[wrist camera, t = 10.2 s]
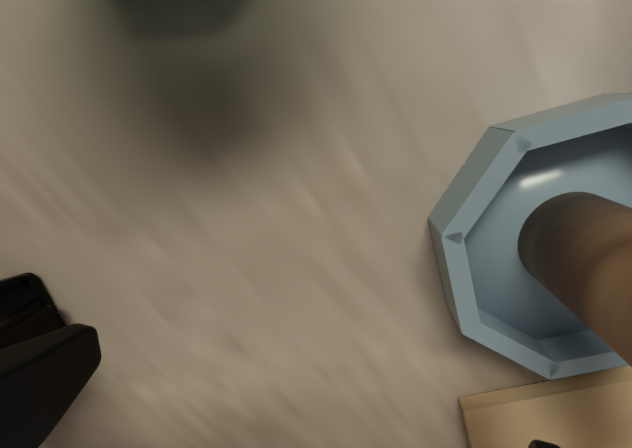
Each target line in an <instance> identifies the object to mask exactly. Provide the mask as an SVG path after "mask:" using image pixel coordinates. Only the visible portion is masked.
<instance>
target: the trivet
mask: <svg viewBox="0 0 632 448" xmlns="http://www.w3.org/2000/svg"><path fill="white" fill-rule="evenodd" d="M458 399H459V403H460V408H461V412H462V417H463V421H464V425H465V430H466V434H467V438H468V443H469V447H470V448H528V446H529V444H530V442H531V441H532V440H535V439H537V440H541V441H545V442H549V443H553V444H556V445H558V446H559V447H561V448H632V367H631V366H630V365H629V366H623V367H618V368H613V369H608V370H602V371H597V372H592V373H587V374H581V375H576V376H571V377H566V378H560V379H555V380H550V381H545V382H539V383H534V384H529V385H524V386H518V387H513V388H508V389H503V390H497V391H492V392H487V393H482V394H476V395H471V396H466V397H461V398H458Z"/></svg>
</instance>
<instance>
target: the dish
mask: <svg viewBox="0 0 632 448" xmlns="http://www.w3.org/2000/svg"><path fill="white" fill-rule="evenodd" d="M568 192H588V193H592V194H596V195H598V196H601V197H604V198H606V199H609V200H612V201H614V202H617V203H620V204H622V205H625V206H628V207H630V208H632V93H615V94H602V95H599V96H595V97H592V98H588V99H585V100H581V101H578V102H574V103H571V104H567V105H564V106H560V107H556V108H553V109H549V110H546V111H542V112H539V113H535V114H532V115H528V116H525V117H521V118H518V119H514V120H511V121H507V122H504V123H500V124H496V125H493V126H490V127H489V128H488V129H487V131H486V132H485V134H484V135H483V137H482V138H481V140H480V141H479V143H478V144H477V146H476V147H475V149H474V150H473V152H472V153H471V155H470V156H469V158H468V159H467V161H466V162H465V164H464V165H463V166H462V168H461V169H460V171H459V172H458V174H457V175H456V177H455V178H454V180H453V181H452V183H451V184H450V186H449V187H448V189H447V190H446V192H445V193H444V195H443V196H442V198H441V199H440V201H439V202H438V204H437V205H436V207H435V208H434V210H433V211H432V213H431V214H430V215H429V217H428V218H429V219H428V222H429V226H430V231H431V235H432V240H433V244H434V249H435V253H436V258H437V262H438V267H439V271H440V276H441V281H442V285H443V290H444V294H445V299H446V303H447V306H448V308H449V310H450V312H451V314H452V316H453V317H454V319H455V321H456V323H457V325H458V327H459V329H460V331H461V333H462V334H463V335H465V336H467V337H469V338H471V339H473V340H475V341H476V342H478V343H480V344H482V345H484V346H486V347H488V348H490V349H492V350H494V351H496V352H497V353H499V354H501V355H503V356H505V357H507V358H509V359H511V360H513V361H515V362H517V363H518V364H520V365H522V366H524V367H526V368H528V369H530V370H532V371H534V372H536V373H537V374H539V375H541V376H543V377H545V378H547V379H550V380H553V379H558V378H563V377H568V376H574V375H579V374H584V373H589V372H595V371H600V370H605V369H610V368H616V367H621V366H626V365H629V364H627V363H626V362H625V361H624V360H623V359H622V358H621V357H620V356H619V355H618V354H617V353H616V352H614V351H613V350H612V349H611V348H610V347H609V346H608V345H607V344H606V343H605V342H604V341H603V340H601V339H600V338H599V337H598V336H597V335H596V334H595V333H594V332H593V331H592V330H591V329H590V328H588V327H587V326H586V325H585V324H584V323H583V322H582V321H581V320H580V319H579V318H578V317H577V316H575V315H574V314H573V313H572V312H571V311H570V310H569V309H568V308H567V307H566V306H565V305H564V304H562V303H561V302H560V301H559V300H558V299H557V298H556V297H555V296H554V295H553V294H552V293H551V292H549V291H548V290H547V289H546V288H545V287H544V286H543V285H542V284H541V283H540V282H539V281H538V280H536V279H535V278H534V277H533V276H532V275H531V274H530V273H529V272H528V271H527V270H526V269H525V267H524V266H523V264H522V262H521V260H520V258H519V254H518V237H519V233H520V230H521V228H522V226H523V224H524V222H525V220H526V219H527V217H528V216H529V215H530V214H531V213H532V212H533V211H534V210H535V209H536V208H537V207H538V206H539V205H540V204H542V203H543V202H545V201H546V200H548V199H550V198H552V197H554V196H557V195H560V194H564V193H568Z"/></svg>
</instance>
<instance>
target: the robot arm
mask: <svg viewBox="0 0 632 448" xmlns="http://www.w3.org/2000/svg"><path fill="white" fill-rule="evenodd" d="M26 281H28V282H29V284H30V285H29V284H28V283H27V282H26ZM100 361H101V350H100V345H99V339H98V334H97V331H96V329H95V328H94V327H92V326H88V325H84V324H78V323H77V324H73V325H70V326H67V327H65V326H64V324H63V322H62V321H61V319H60V317H59V315H58V313H57V311H56V310H55V308H54V306H53V304H52V302H51V301H50V299H49V297H48V295H47V293H46V291H45V290H44V288H43V286H42V284H41V282H40V281H39V279H38V277H37V276H36V275H34V274H33V273H24V274H20V275H16V276H13V277H9V278H6V279H2V280H0V448H38V447H39V446H40V445H41V444H42V443H43V442H44V440H45V439H46V438H47V437H48V435H49V434H50V433H51V432H52V430H53V429H54V428H55V426H56V425H57V424H58V422H59V421H60V420H61V418H62V417H63V415H64V414H65V413H66V411H67V410H68V408H69V407H70V406H71V404H72V403H73V401H74V400H75V399H76V397H77V396H78V394H79V393H80V391H81V390H82V389H83V387H84V386H85V384H86V383H87V382H88V380H89V379H90V377H91V376H92V375H93V373H94V372H95V370H96V369H97V367H98V366H99V364H100ZM528 448H561V447H559V446H558V445H556V444H553V443H549V442H545V441H541V440H537V439H535V440H532V441H531V442H530V444H529V446H528Z"/></svg>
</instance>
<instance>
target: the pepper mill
mask: <svg viewBox="0 0 632 448" xmlns="http://www.w3.org/2000/svg"><path fill="white" fill-rule="evenodd" d="M518 254H519V258H520V260H521V262H522V264H523V266H524V267H525V269H526V270H527V271H528V272H529V273H530V274H531V275H532V276H533V277H534V278H535V279H536V280H538V281H539V282H540V283H541V284H542V285H543V286H544V287H545V288H546V289H547V290H548V291H549V292H551V293H552V294H553V295H554V296H555V297H556V298H557V299H558V300H559V301H560V302H561V303H562V304H564V305H565V306H566V307H567V308H568V309H569V310H570V311H571V312H572V313H573V314H574V315H575V316H577V317H578V318H579V319H580V320H581V321H582V322H583V323H584V324H585V325H586V326H587V327H588V328H590V329H591V330H592V331H593V332H594V333H595V334H596V335H597V336H598V337H599V338H600V339H601V340H603V341H604V342H605V343H606V344H607V345H608V346H609V347H610V348H611V349H612V350H613V351H614V352H616V353H617V354H618V355H619V356H620V357H621V358H622V359H623V360H624V361H625V362H626V363H627V364H629V365H630V366H631V367H632V208H630V207H628V206H625V205H622V204H620V203H617V202H614V201H612V200H609V199H606V198H604V197H601V196H598V195H596V194H592V193H588V192H568V193H564V194H560V195H557V196H554V197H552V198H550V199H548V200H546V201H545V202H543V203H542V204H540V205H539V206H538V207H537V208H536V209H535V210H534V211H533V212H532V213H531V214H530V215H529V216H528V217H527V219H526V220H525V222H524V224H523V226H522V228H521V230H520V233H519V237H518Z"/></svg>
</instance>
